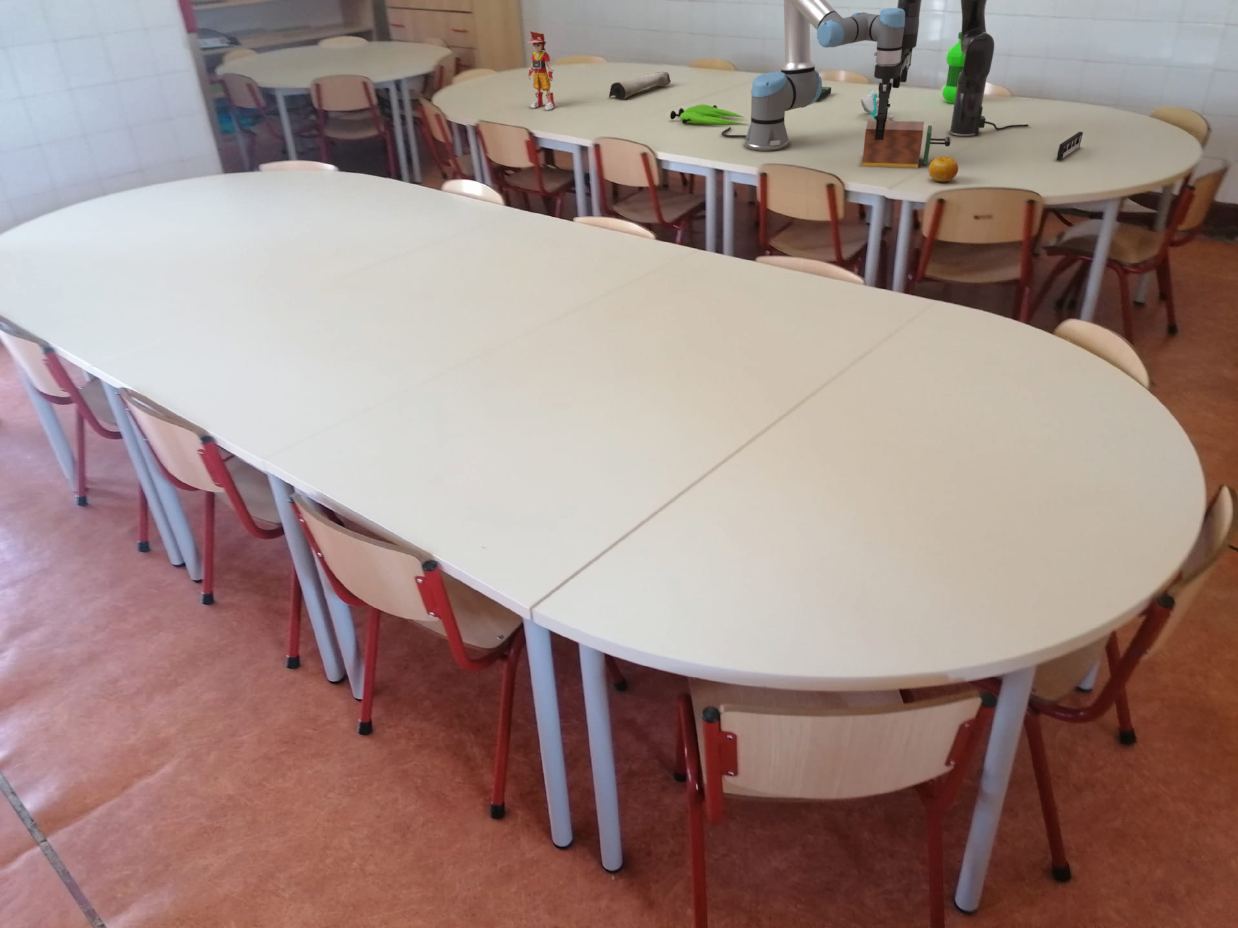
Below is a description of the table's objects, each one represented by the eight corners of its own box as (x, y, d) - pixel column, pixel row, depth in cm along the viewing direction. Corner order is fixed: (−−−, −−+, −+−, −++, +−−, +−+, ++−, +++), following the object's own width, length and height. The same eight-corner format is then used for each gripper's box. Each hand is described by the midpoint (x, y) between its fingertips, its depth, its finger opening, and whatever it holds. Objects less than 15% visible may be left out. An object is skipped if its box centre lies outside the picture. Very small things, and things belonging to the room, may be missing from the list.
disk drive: (818, 102, 366) (831, 94, 376) (818, 95, 364) (831, 87, 374) (794, 100, 370) (807, 92, 380) (794, 93, 369) (808, 85, 379)
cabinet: (918, 158, 298) (923, 121, 291) (918, 167, 290) (923, 130, 283) (864, 156, 302) (868, 120, 296) (861, 165, 294) (865, 129, 288)
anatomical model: (855, 90, 344) (881, 82, 343) (857, 117, 350) (883, 110, 349) (867, 99, 332) (894, 92, 331) (869, 127, 337) (896, 120, 337)
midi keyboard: (1060, 160, 287) (1063, 145, 284) (1056, 160, 288) (1059, 144, 285) (1079, 147, 298) (1083, 132, 295) (1075, 147, 298) (1079, 131, 296)
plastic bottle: (973, 101, 354) (984, 32, 339) (955, 106, 349) (966, 36, 335) (952, 97, 361) (962, 29, 346) (934, 102, 356) (944, 33, 342)
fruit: (922, 172, 274) (939, 148, 271) (923, 174, 282) (940, 151, 279) (945, 187, 273) (963, 164, 270) (946, 189, 281) (963, 166, 278)
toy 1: (525, 109, 381) (517, 32, 364) (534, 104, 388) (527, 28, 371) (550, 110, 377) (543, 32, 360) (559, 105, 384) (553, 28, 367)
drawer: (947, 156, 294) (952, 126, 289) (947, 165, 287) (952, 133, 282) (876, 154, 300) (879, 124, 295) (874, 162, 293) (878, 131, 288)
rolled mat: (651, 76, 408) (662, 61, 399) (662, 93, 408) (674, 79, 400) (605, 92, 391) (616, 77, 383) (617, 110, 391) (628, 95, 383)
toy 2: (660, 123, 346) (729, 136, 334) (661, 109, 344) (731, 121, 331) (693, 112, 367) (760, 123, 354) (694, 98, 364) (762, 110, 351)
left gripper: (877, 56, 291) (871, 124, 303) (872, 72, 271) (865, 144, 283) (901, 56, 289) (894, 124, 301) (898, 72, 269) (890, 144, 281)
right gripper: (900, 26, 292) (893, 79, 301) (887, 34, 282) (881, 89, 291) (923, 27, 289) (916, 81, 298) (912, 35, 279) (905, 90, 288)
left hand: (880, 134), depth 292 cm, fingers open, 13 cm apart
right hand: (899, 85), depth 295 cm, fingers open, 8 cm apart
